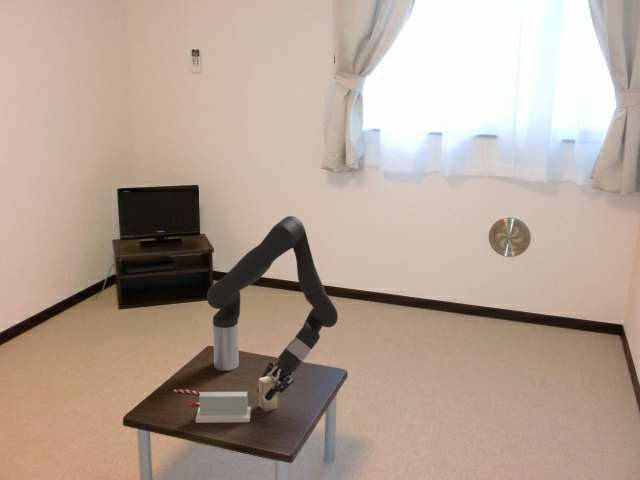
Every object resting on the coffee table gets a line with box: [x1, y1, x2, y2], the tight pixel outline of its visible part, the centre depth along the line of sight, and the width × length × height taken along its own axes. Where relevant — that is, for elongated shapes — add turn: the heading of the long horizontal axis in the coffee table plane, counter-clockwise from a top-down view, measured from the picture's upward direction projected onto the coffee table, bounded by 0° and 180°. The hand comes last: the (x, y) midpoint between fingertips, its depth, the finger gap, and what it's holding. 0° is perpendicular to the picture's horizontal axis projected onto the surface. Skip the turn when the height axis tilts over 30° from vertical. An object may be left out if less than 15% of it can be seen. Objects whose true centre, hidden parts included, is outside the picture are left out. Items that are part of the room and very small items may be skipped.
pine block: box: [258, 375, 278, 412], centre depth 207 cm, size 4×4×10 cm
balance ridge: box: [195, 391, 252, 424], centre depth 201 cm, size 7×17×8 cm, turn 92°
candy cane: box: [173, 388, 201, 407], centre depth 214 cm, size 8×1×15 cm
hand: (263, 395), depth 206 cm, fingers closed on pine block, 4 cm apart
